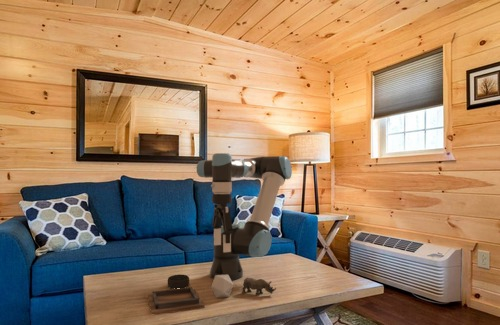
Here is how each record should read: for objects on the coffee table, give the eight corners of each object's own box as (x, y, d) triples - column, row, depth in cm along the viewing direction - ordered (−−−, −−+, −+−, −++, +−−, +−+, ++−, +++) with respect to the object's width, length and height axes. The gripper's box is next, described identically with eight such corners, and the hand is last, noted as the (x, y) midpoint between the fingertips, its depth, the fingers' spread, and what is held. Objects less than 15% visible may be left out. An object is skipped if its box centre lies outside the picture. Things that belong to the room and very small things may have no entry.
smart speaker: (167, 291, 142) (168, 281, 142) (167, 284, 150) (167, 274, 150) (190, 289, 144) (190, 279, 144) (188, 282, 152) (188, 273, 153)
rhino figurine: (274, 298, 132) (274, 282, 133) (240, 293, 137) (240, 278, 138) (277, 294, 136) (277, 279, 136) (244, 290, 141) (244, 275, 141)
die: (227, 303, 129) (239, 279, 133) (206, 291, 129) (219, 267, 133) (224, 303, 137) (236, 280, 141) (205, 292, 137) (217, 270, 141)
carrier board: (147, 297, 134) (147, 290, 134) (194, 291, 140) (194, 285, 140) (151, 315, 117) (151, 307, 117) (204, 307, 123) (204, 300, 123)
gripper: (205, 191, 146) (205, 243, 146) (221, 195, 123) (221, 256, 122) (222, 191, 149) (222, 241, 148) (241, 194, 126) (241, 254, 125)
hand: (222, 248), depth 135 cm, fingers open, 13 cm apart
